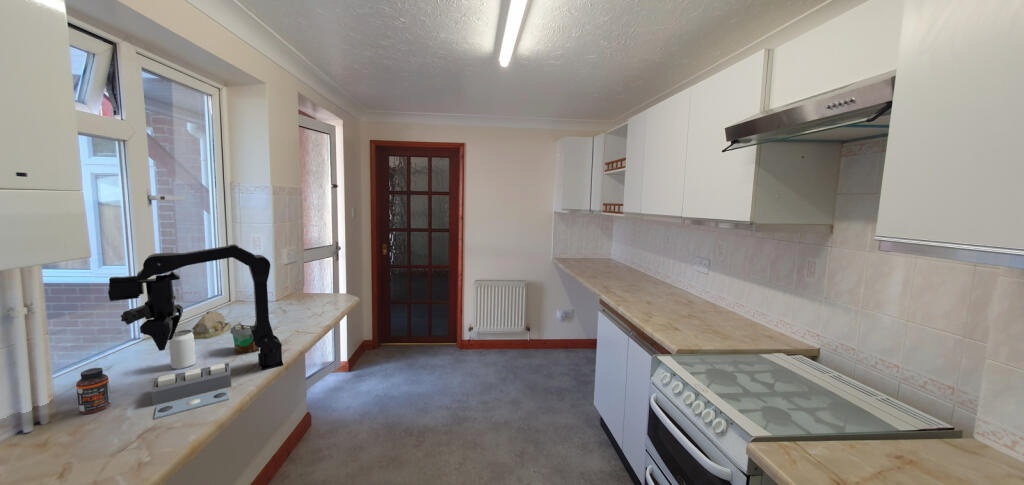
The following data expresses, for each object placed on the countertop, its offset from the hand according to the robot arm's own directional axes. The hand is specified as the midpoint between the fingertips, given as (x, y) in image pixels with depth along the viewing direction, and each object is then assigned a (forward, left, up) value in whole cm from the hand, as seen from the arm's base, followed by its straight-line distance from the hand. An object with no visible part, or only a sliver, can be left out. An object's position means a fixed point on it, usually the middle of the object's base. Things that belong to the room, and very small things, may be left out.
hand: (165, 344), depth 113 cm
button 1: (0, +4, -11) cm, 12 cm away
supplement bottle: (+15, +3, -14) cm, 21 cm away
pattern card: (-6, +15, -14) cm, 21 cm away
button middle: (-6, +4, -11) cm, 13 cm away
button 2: (-12, +4, -11) cm, 17 cm away
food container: (-20, -19, -14) cm, 31 cm away
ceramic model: (-11, -49, -15) cm, 53 cm away
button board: (-6, +5, -14) cm, 16 cm away
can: (-3, -17, -14) cm, 23 cm away
